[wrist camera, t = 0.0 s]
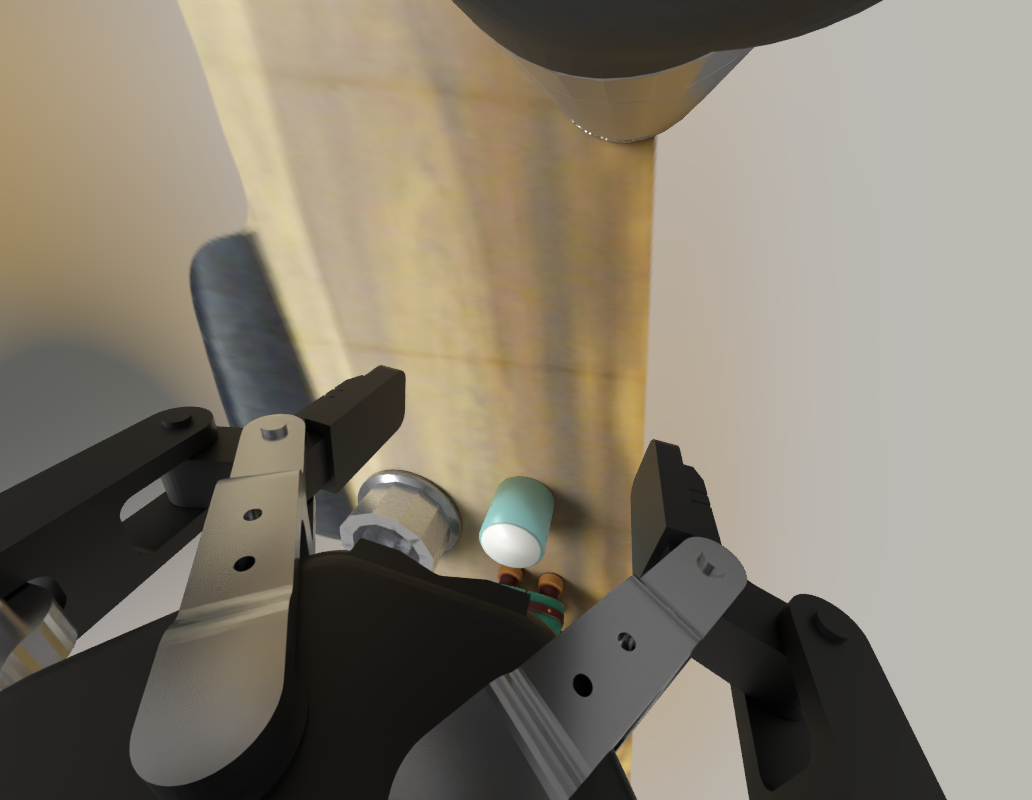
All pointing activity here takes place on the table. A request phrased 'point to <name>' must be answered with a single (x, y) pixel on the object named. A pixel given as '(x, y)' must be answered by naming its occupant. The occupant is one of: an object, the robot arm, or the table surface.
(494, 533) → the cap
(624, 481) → the table surface
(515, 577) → the binoculars
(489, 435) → the table surface
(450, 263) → the table surface
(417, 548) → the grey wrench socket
